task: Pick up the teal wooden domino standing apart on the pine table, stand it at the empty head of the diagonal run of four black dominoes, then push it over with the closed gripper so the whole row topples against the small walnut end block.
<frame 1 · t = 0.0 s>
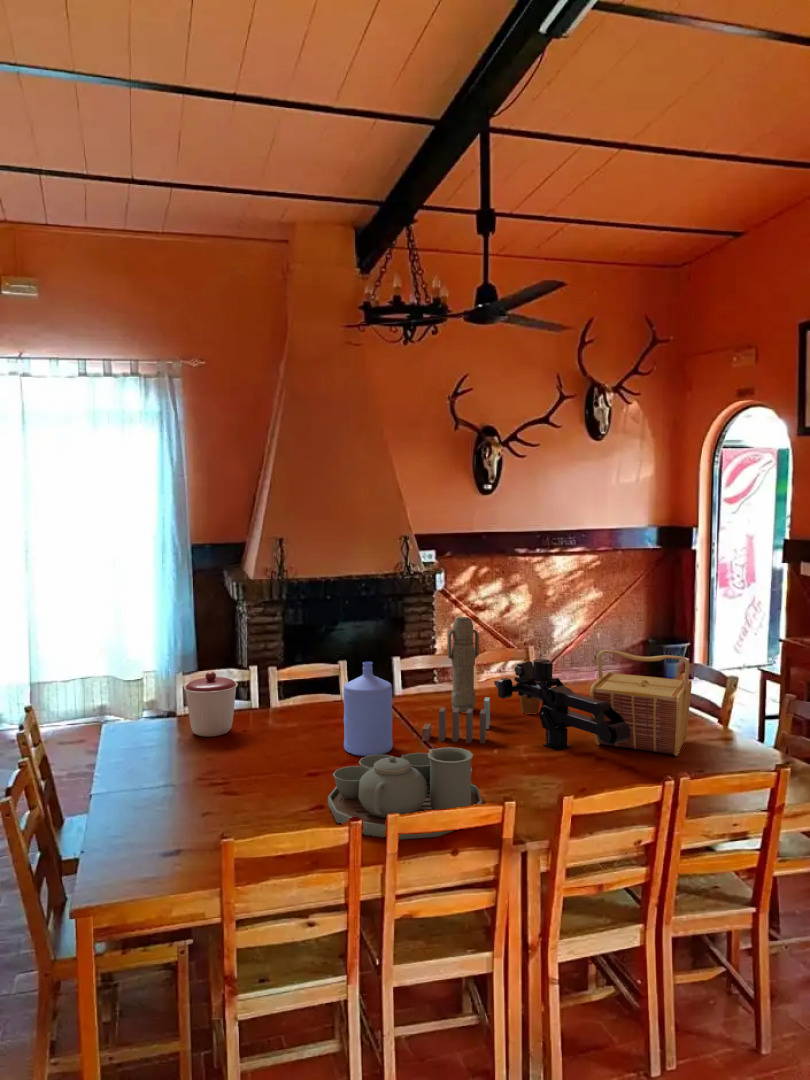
hand: (504, 680, 275), 17 cm above the table, tool horizontal, fingers open, 9 cm apart
domino 4: (455, 739, 262), on the table
tea set: (404, 809, 206), on the table
water jug: (368, 749, 253), on the table
domino 2: (483, 741, 261), on the table
disposable coffee cup: (530, 713, 294), on the table
picnic basket: (641, 744, 256), on the table
canister: (211, 733, 272), on the table
teal domino: (486, 727, 276), on the table
domino 5: (442, 739, 263), on the table
end block: (426, 738, 264), on the table
domino 3: (469, 740, 261), on the table
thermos: (463, 710, 298), on the table
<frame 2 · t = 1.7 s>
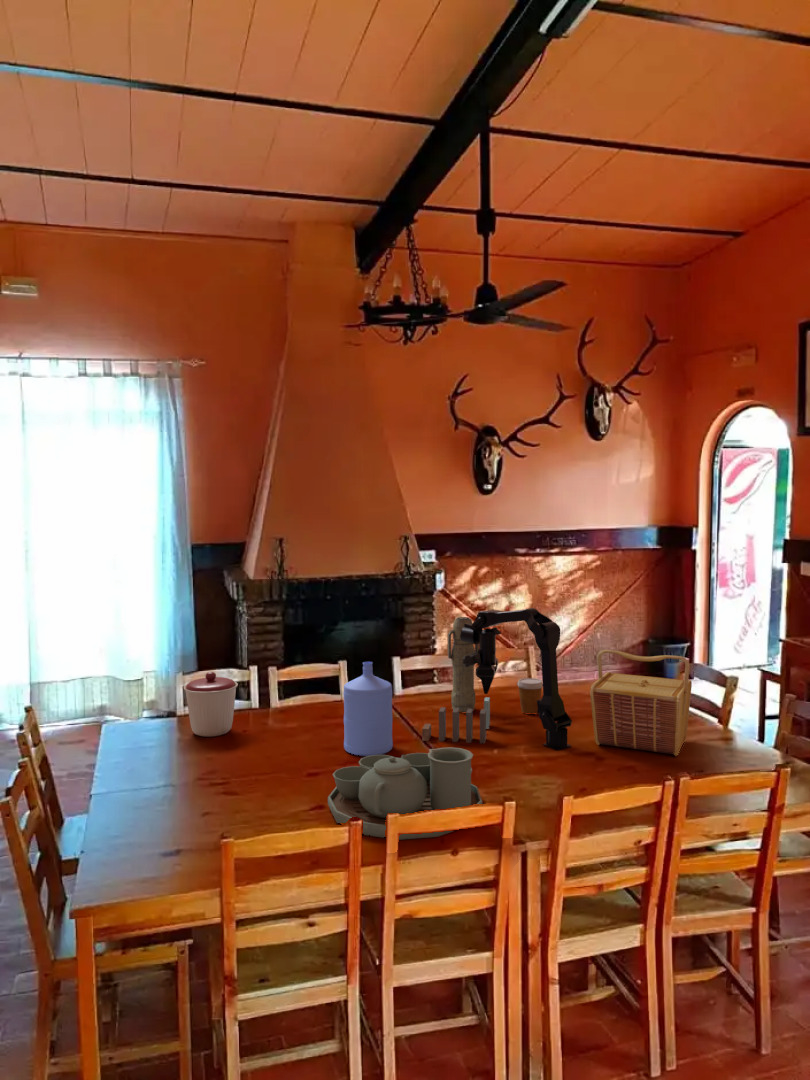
hand: (487, 690, 275), 13 cm above the table, tool pointing down, fingers open, 9 cm apart
nothing on the table moved.
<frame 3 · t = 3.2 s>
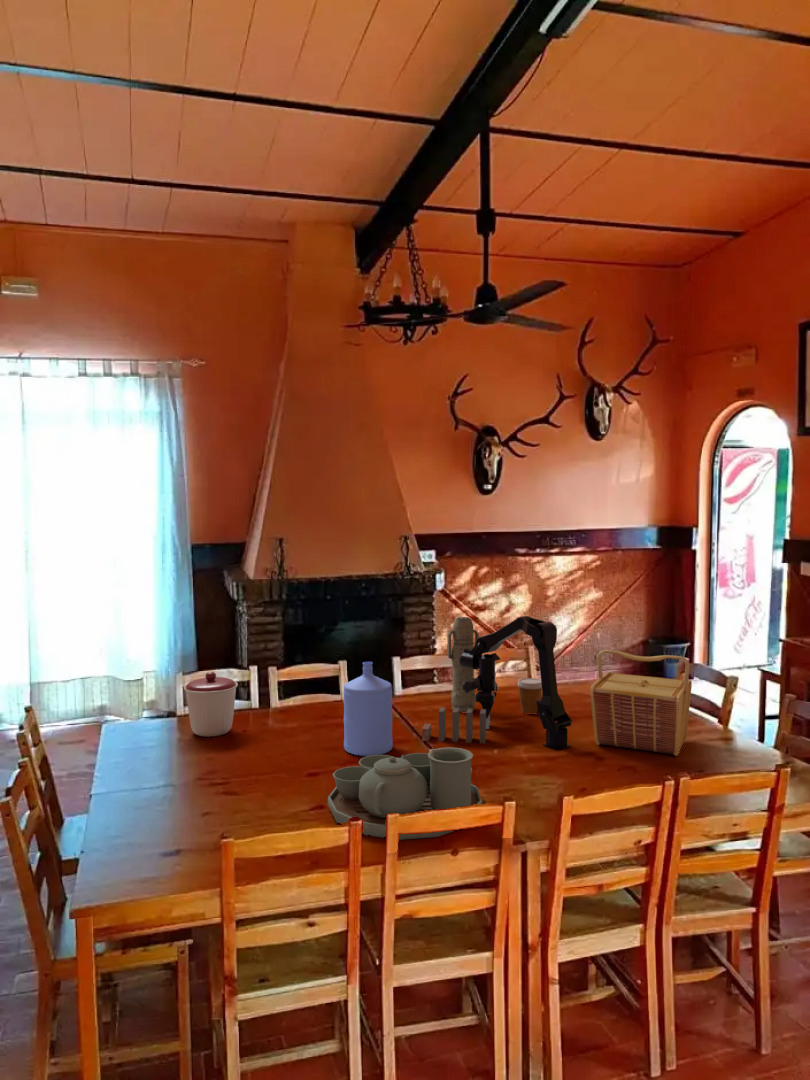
hand: (486, 715, 276), 4 cm above the table, tool pointing down, fingers closed on teal domino, 5 cm apart
teal domino: (486, 727, 276), on the table, touching gripper
everything else where it was.
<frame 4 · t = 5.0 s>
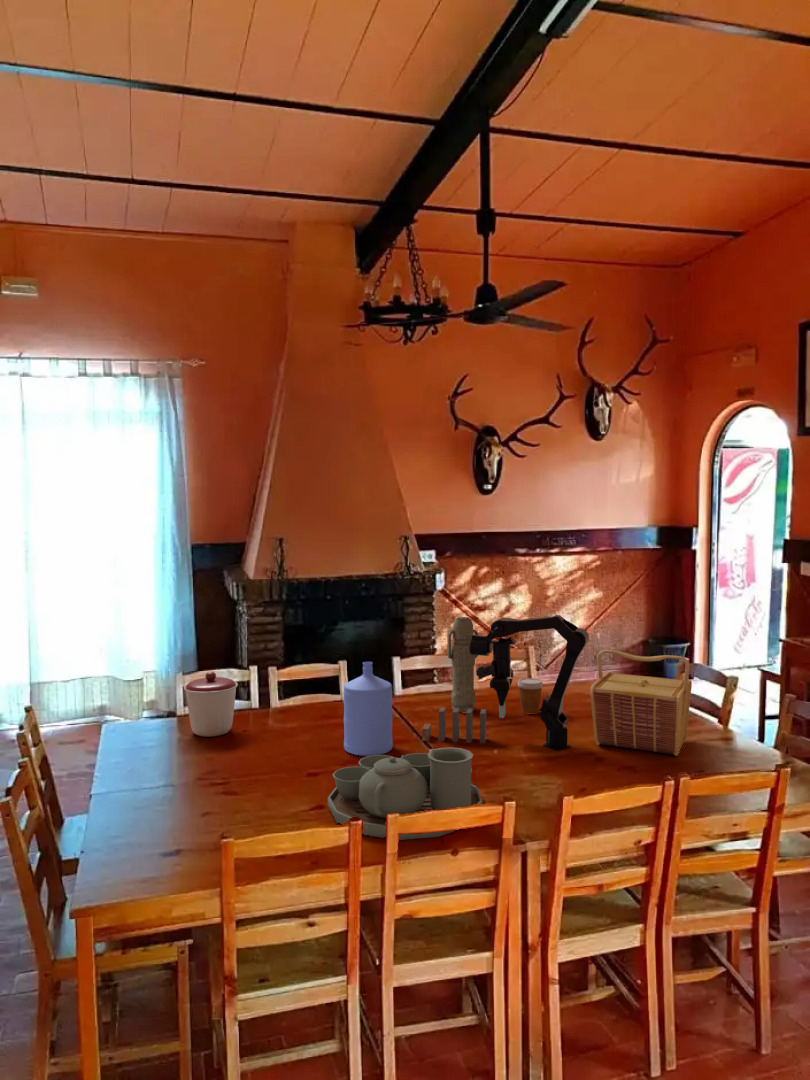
hand: (502, 703, 261), 12 cm above the table, tool pointing down, fingers closed on teal domino, 5 cm apart
teal domino: (502, 715, 261), point 8 cm above the table, touching gripper
everything else where it was.
when the fingers open (5 cm above the table, at t = 6.9 s): teal domino drops 1 cm, on the table.
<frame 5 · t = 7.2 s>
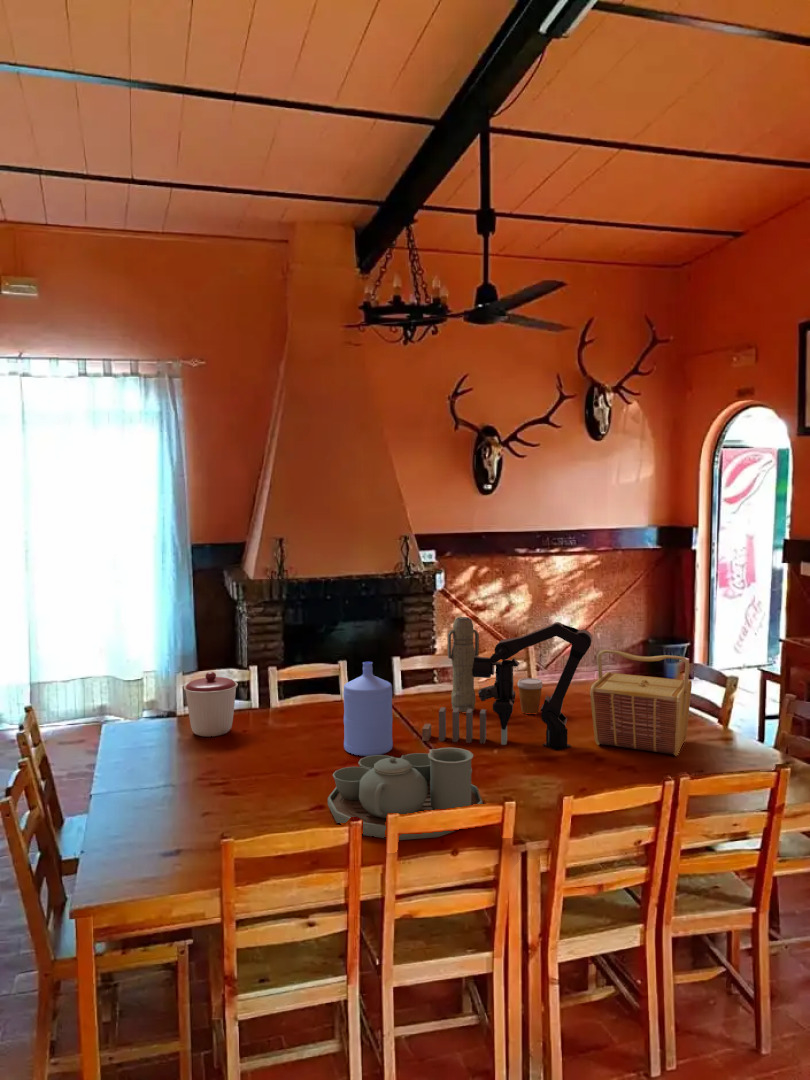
hand: (504, 725, 259), 5 cm above the table, tool pointing down, fingers open, 8 cm apart
teal domino: (504, 742, 259), on the table
everything else where it was.
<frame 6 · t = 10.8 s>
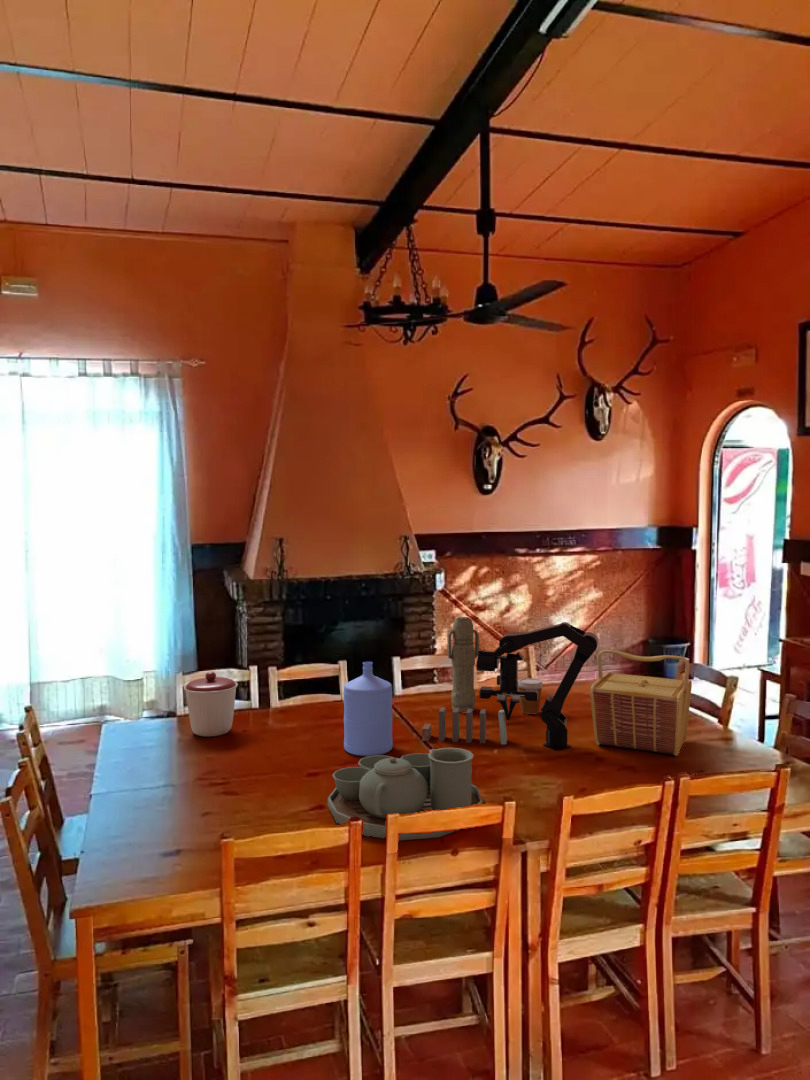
hand: (508, 719, 259), 8 cm above the table, tool pointing down, fingers closed
teal domino: (504, 742, 259), on the table, tilted 6°
everything else where it was.
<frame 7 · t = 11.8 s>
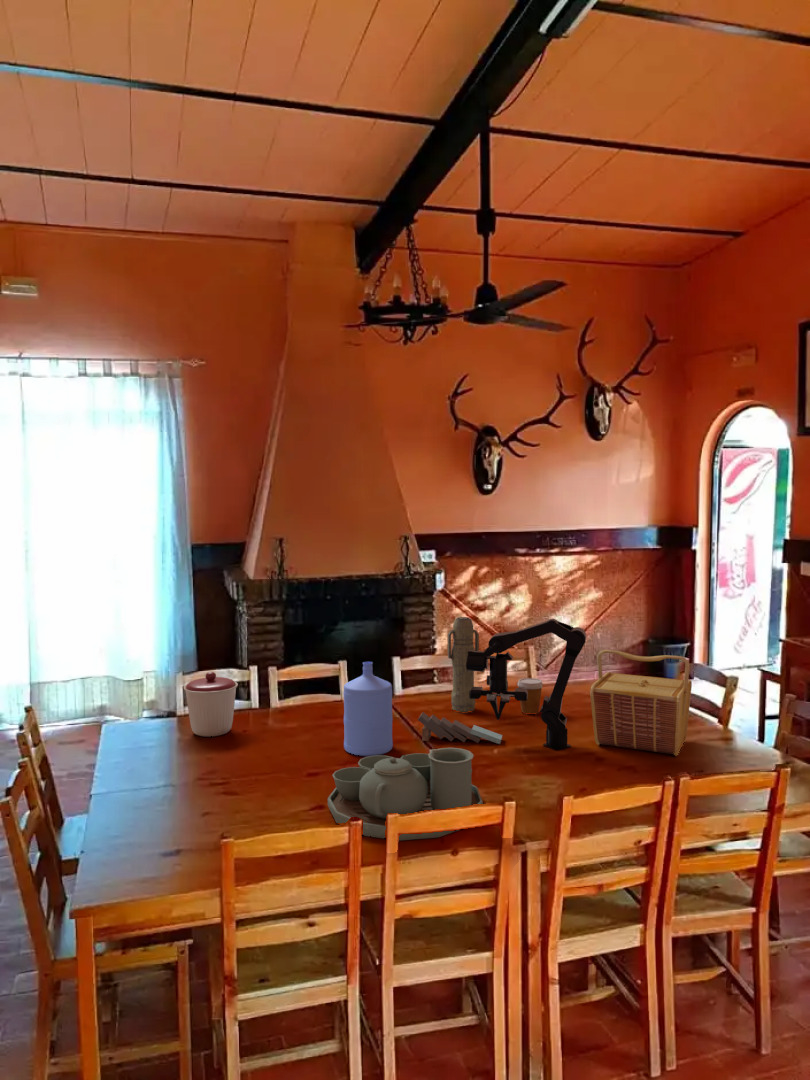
hand: (498, 719, 259), 8 cm above the table, tool pointing down, fingers closed
domino 4: (453, 737, 262), point 1 cm above the table, tilted 51°, touching domino 3, domino 5
domino 2: (479, 738, 261), point 1 cm above the table, tilted 62°, touching domino 3, teal domino
teal domino: (501, 739, 259), point 1 cm above the table, tilted 72°, touching domino 2
domino 5: (443, 735, 263), point 1 cm above the table, tilted 51°, touching domino 4, end block
domino 3: (466, 738, 262), point 1 cm above the table, tilted 57°, touching domino 2, domino 4
everything else where it was.
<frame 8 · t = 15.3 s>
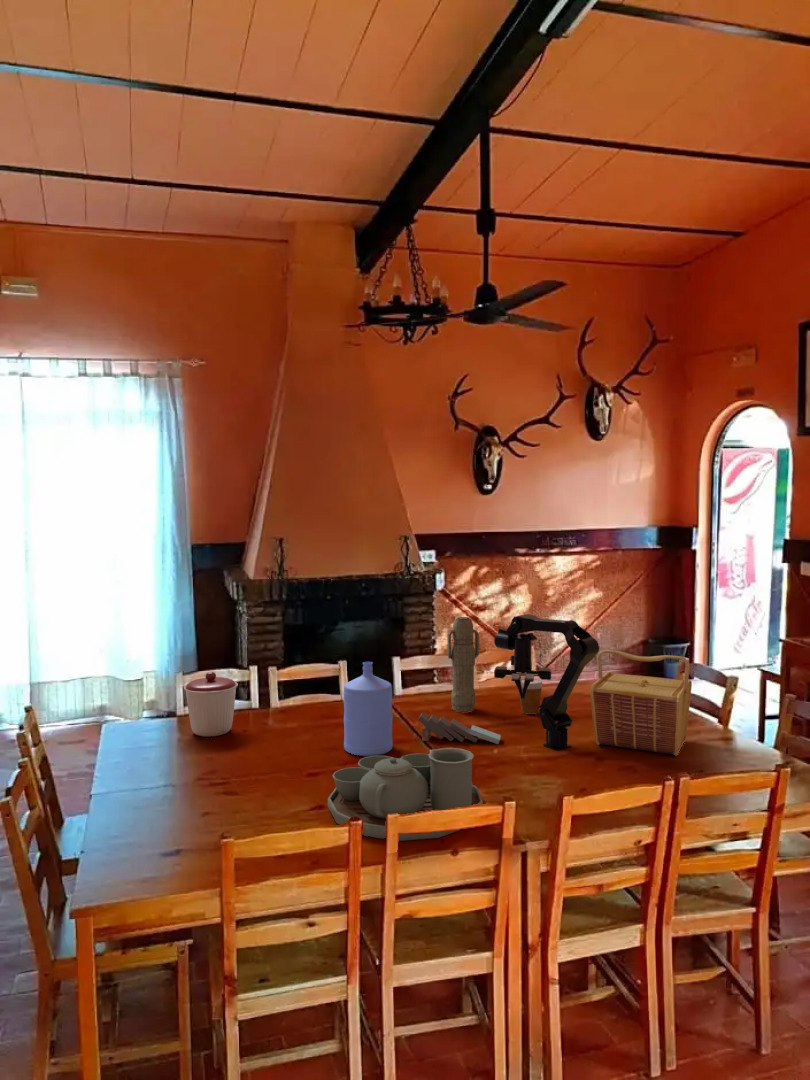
hand: (522, 698, 264), 13 cm above the table, tool pointing down, fingers closed
domino 4: (453, 737, 262), point 1 cm above the table, tilted 51°, touching domino 5
domino 2: (477, 738, 261), point 1 cm above the table, tilted 60°, touching domino 3
teal domino: (499, 739, 260), point 1 cm above the table, tilted 72°
domino 3: (464, 738, 262), point 1 cm above the table, tilted 55°, touching domino 2
everything else where it was.
at the end: domino 5 tilted 51°; teal domino tilted 72°; the gripper is holding nothing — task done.
